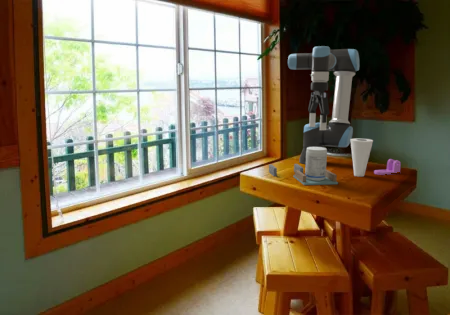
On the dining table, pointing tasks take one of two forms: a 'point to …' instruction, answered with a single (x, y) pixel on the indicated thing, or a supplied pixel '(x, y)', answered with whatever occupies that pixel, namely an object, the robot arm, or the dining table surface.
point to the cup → (360, 155)
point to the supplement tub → (316, 163)
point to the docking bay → (328, 179)
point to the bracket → (390, 167)
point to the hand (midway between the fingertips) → (317, 128)
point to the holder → (274, 170)
